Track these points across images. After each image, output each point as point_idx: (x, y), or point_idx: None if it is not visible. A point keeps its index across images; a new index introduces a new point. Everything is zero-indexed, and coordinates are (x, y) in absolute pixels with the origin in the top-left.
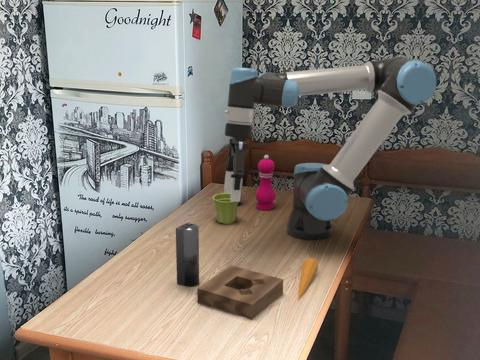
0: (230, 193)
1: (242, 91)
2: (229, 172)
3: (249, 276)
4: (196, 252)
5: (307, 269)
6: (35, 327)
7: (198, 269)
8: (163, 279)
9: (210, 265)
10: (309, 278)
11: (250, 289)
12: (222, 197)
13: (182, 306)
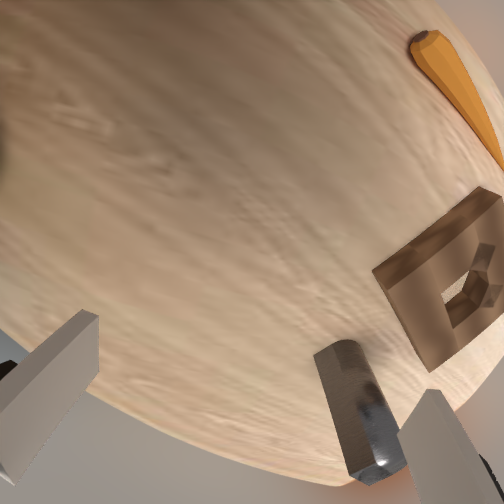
0: (98, 334)
1: None
2: (8, 464)
3: (457, 266)
4: (388, 405)
5: (470, 89)
6: (344, 482)
7: (367, 366)
8: (299, 393)
9: (274, 296)
10: (483, 105)
11: (492, 284)
12: None
13: (410, 374)
